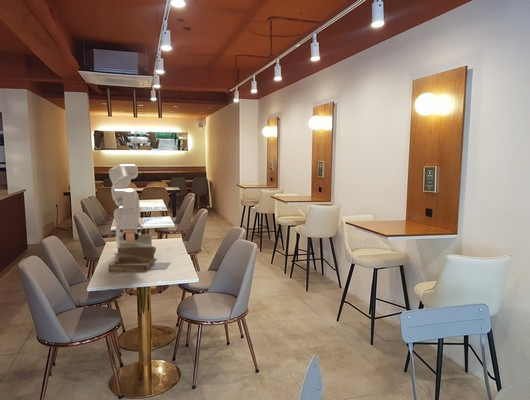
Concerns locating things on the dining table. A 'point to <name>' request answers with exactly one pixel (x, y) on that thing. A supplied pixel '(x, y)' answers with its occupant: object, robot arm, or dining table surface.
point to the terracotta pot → (130, 236)
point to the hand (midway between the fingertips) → (130, 239)
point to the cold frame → (134, 255)
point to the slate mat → (160, 266)
